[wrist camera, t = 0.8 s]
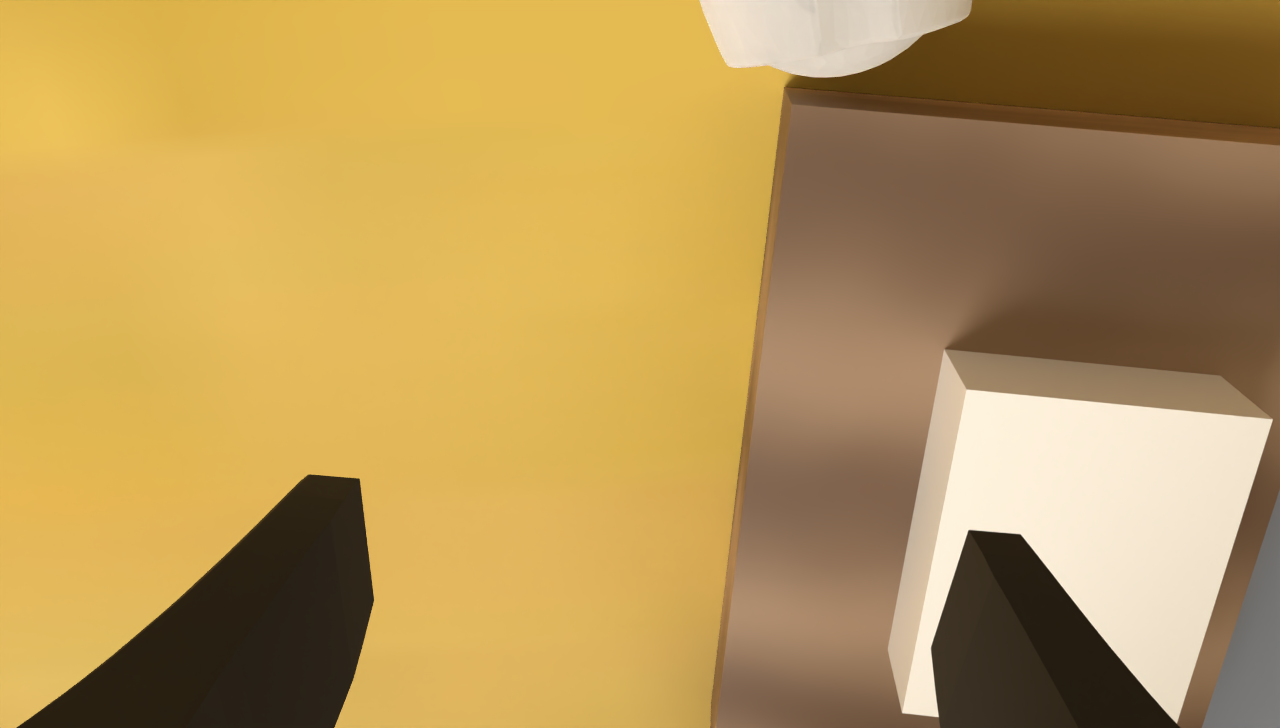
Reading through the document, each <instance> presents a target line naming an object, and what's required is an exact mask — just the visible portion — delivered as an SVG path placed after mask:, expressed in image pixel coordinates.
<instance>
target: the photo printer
mask: <svg viewBox="0 0 1280 728" xmlns="http://www.w3.org/2000/svg"><path fill="white" fill-rule="evenodd" d="M700 3H701V6H702V9H703V12H704V15H705V17H706V20H707V22H708V25H709V27H710V30H711V32H712V34H713V37H714V39H715V42H716V44H717V46H718V48H719V51H720V53H721V55H722V57H723V59H724V60H725V62H726V64H727V65H728V66H730V67H735V68H743V67H757V66H765V65H769V66H771V67H774V68H777V69H779V70H782V71H785V72H788V73H791V74H795V75H801V76H808V77H824V78H826V77H841V76H846V75H851V74H855V73H860V72H863V71H866V70H868V69H871V68H874V67H877V66H879V65H881V64H883V63H885V62H887V61H889V60H891V59H892V58H894V57H895V56H897V55H898V54H900V53H901V52H903V51H904V50H906V49H907V48H909V47H910V46H911V45H912V44H913V43H914V42H915V41H917V40H918V39H919V38H920V37H921V36H922V35H923V34H926V33H929V32H932V31H936V30H938V29H941V28H944V27H947V26H949V25H952V24H955V23H958V22H960V21H962V20H963V19H965V18H966V17H968V16H969V14H970V11H971V6H972V0H700Z"/></svg>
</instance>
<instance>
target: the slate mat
mask: <svg viewBox="0 0 1280 728" xmlns="http://www.w3.org/2000/svg"><path fill="white" fill-rule="evenodd" d="M1202 728H1280V490H1279V493H1278V496H1277V499H1276V503H1275V506H1274V509H1273V512H1272V515H1271V518H1270V521H1269V524H1268V527H1267V530H1266V533H1265V536H1264V539H1263V542H1262V545H1261V548H1260V551H1259V554H1258V558H1257V561H1256V564H1255V567H1254V570H1253V573H1252V576H1251V579H1250V582H1249V585H1248V588H1247V591H1246V594H1245V597H1244V600H1243V603H1242V606H1241V609H1240V613H1239V616H1238V619H1237V622H1236V625H1235V628H1234V631H1233V634H1232V637H1231V640H1230V643H1229V646H1228V649H1227V652H1226V655H1225V658H1224V661H1223V665H1222V668H1221V671H1220V674H1219V677H1218V680H1217V683H1216V686H1215V689H1214V692H1213V695H1212V698H1211V701H1210V704H1209V707H1208V710H1207V713H1206V716H1205V720H1204V723H1203V726H1202Z"/></svg>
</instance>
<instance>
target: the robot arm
mask: <svg viewBox="0 0 1280 728" xmlns="http://www.w3.org/2000/svg"><path fill="white" fill-rule="evenodd" d="M373 602H374V596H373V588H372V579H371V571H370V563H369V554H368V546H367V537H366V529H365V521H364V512H363V504H362V495H361V487H360V479H356V478H344V477H333V476H321V475H308V476H306V477H305V478H304V479H302V480H301V481H300V482H299V483H298V484H297V485H296V486H295V487H294V488H293V489H292V490H291V491H290V492H289V493H288V494H287V495H286V496H285V497H284V498H283V499H282V500H281V501H280V502H279V503H278V504H277V505H276V506H275V507H274V508H273V509H272V510H271V511H270V512H269V513H268V514H267V515H266V516H265V517H264V518H263V519H262V520H261V521H260V522H259V523H258V524H257V525H256V526H255V527H254V528H253V529H252V530H251V531H250V532H249V533H248V534H247V535H246V536H245V537H244V538H243V539H242V540H241V541H240V542H239V543H238V544H237V545H235V546H234V547H233V548H232V549H231V550H230V551H229V552H228V553H227V554H226V555H225V556H224V557H223V558H222V559H221V560H220V561H219V562H218V563H217V564H216V565H214V566H213V567H212V568H211V569H210V570H209V571H208V572H207V573H206V574H205V575H204V576H203V577H202V578H201V579H199V580H198V581H197V582H196V583H195V584H194V585H193V586H192V587H191V588H190V589H189V590H188V591H187V592H186V593H184V594H183V595H182V596H181V597H180V598H179V599H178V600H177V601H176V602H175V603H173V604H172V605H171V606H170V607H169V608H168V609H167V610H165V611H164V612H163V613H162V614H161V615H160V616H158V617H157V618H156V619H155V620H154V621H153V622H151V623H150V624H149V625H148V626H147V627H145V628H144V629H143V630H142V631H141V632H140V633H138V634H137V635H136V636H135V637H134V638H133V639H131V640H130V641H129V642H128V643H127V644H125V645H124V646H123V647H122V648H121V649H120V650H118V651H117V652H116V653H115V654H114V655H112V656H111V657H110V658H109V659H108V660H106V661H105V662H104V663H103V664H101V665H100V666H99V667H97V668H96V669H95V670H94V671H92V672H91V673H90V674H89V675H87V676H86V677H85V678H83V679H82V680H81V681H80V682H78V683H77V684H76V685H74V686H73V687H72V688H70V689H69V690H68V691H66V692H65V693H64V694H62V695H61V696H60V697H58V698H57V699H56V700H54V701H53V702H51V703H50V704H49V705H47V706H46V707H45V708H43V709H42V710H41V711H39V712H38V713H36V714H35V715H34V716H32V717H31V718H30V719H28V720H27V721H25V722H24V723H23V724H21V725H20V726H18V727H17V728H334V727H335V724H336V722H337V719H338V717H339V714H340V712H341V709H342V707H343V704H344V702H345V699H346V697H347V694H348V691H349V689H350V686H351V684H352V681H353V678H354V675H355V671H356V667H357V664H358V660H359V656H360V653H361V649H362V645H363V642H364V638H365V634H366V630H367V626H368V622H369V618H370V614H371V610H372V606H373ZM931 655H932V664H933V674H934V683H935V692H936V700H937V707H938V715H939V723H940V728H1180V727H1179V726H1178V725H1177V723H1176V722H1175V721H1174V720H1173V719H1172V718H1171V717H1170V716H1169V715H1168V714H1167V713H1166V712H1165V710H1164V709H1163V708H1162V707H1161V706H1160V705H1159V704H1158V703H1157V701H1156V700H1155V699H1154V698H1153V697H1152V696H1151V695H1150V693H1149V692H1148V691H1147V690H1146V689H1145V688H1144V686H1143V685H1142V684H1141V683H1140V682H1139V681H1138V679H1137V678H1136V677H1135V676H1134V675H1133V673H1132V672H1131V671H1130V670H1129V669H1128V668H1127V666H1126V665H1125V664H1124V663H1123V662H1122V660H1121V659H1120V658H1119V657H1118V656H1117V654H1116V653H1115V652H1114V651H1113V650H1112V649H1111V647H1110V646H1109V645H1108V644H1107V642H1106V641H1105V640H1104V639H1103V637H1102V636H1101V635H1100V634H1099V633H1098V631H1097V630H1096V629H1095V628H1094V626H1093V625H1092V624H1091V623H1090V621H1089V620H1088V619H1087V618H1086V616H1085V615H1084V614H1083V613H1082V611H1081V610H1080V609H1079V607H1078V606H1077V605H1076V604H1075V602H1074V601H1073V600H1072V599H1071V597H1070V596H1069V595H1068V594H1067V592H1066V591H1065V590H1064V588H1063V587H1062V586H1061V585H1060V583H1059V582H1058V581H1057V579H1056V578H1055V577H1054V576H1053V574H1052V573H1051V572H1050V571H1049V569H1048V568H1047V567H1046V565H1045V564H1044V563H1043V562H1042V560H1041V559H1040V558H1039V557H1038V555H1037V554H1036V553H1035V552H1034V550H1033V549H1032V548H1031V546H1030V545H1029V544H1028V543H1027V541H1026V540H1025V539H1024V538H1023V536H1022V535H1021V534H1012V533H1000V532H989V531H977V530H968V533H967V536H966V539H965V542H964V546H963V549H962V552H961V555H960V558H959V561H958V564H957V567H956V571H955V574H954V577H953V580H952V583H951V586H950V589H949V592H948V596H947V599H946V602H945V605H944V608H943V611H942V614H941V617H940V620H939V624H938V627H937V630H936V633H935V636H934V639H933V642H932V645H931Z"/></svg>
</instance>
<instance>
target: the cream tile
mask: <svg viewBox="0 0 1280 728" xmlns="http://www.w3.org/2000/svg"><path fill="white" fill-rule="evenodd" d="M1272 421H1273V419H1272V418H1271V417H1269V416H1268V415H1267V414H1266V413H1265V412H1263V411H1262V410H1261V409H1260V408H1259V407H1257V406H1256V405H1255V404H1254V403H1253V402H1251V401H1250V400H1249V399H1248V398H1247V397H1245V396H1244V395H1243V394H1242V393H1241V392H1239V391H1238V390H1237V389H1236V388H1235V387H1233V386H1232V385H1231V384H1230V383H1229V382H1227V381H1226V380H1225V379H1224V378H1223V377H1221V376H1219V375H1209V374H1198V373H1188V372H1177V371H1167V370H1156V369H1146V368H1135V367H1125V366H1115V365H1104V364H1094V363H1083V362H1073V361H1062V360H1052V359H1041V358H1031V357H1021V356H1010V355H1000V354H989V353H979V352H968V351H958V350H947V349H944V352H943V358H942V363H941V368H940V374H939V379H938V384H937V390H936V395H935V400H934V406H933V411H932V416H931V422H930V427H929V432H928V437H927V443H926V448H925V453H924V459H923V464H922V469H921V475H920V480H919V485H918V491H917V496H916V501H915V507H914V512H913V517H912V523H911V528H910V533H909V539H908V544H907V549H906V554H905V560H904V565H903V570H902V576H901V581H900V586H899V592H898V597H897V602H896V608H895V613H894V618H893V624H892V629H891V634H890V640H889V645H888V653H889V658H890V662H891V666H892V671H893V675H894V680H895V684H896V688H897V693H898V697H899V702H900V706H901V711H902V713H906V714H915V715H923V716H932V717H939V715H938V707H937V700H936V692H935V683H934V674H933V664H932V655H931V645H932V642H933V639H934V636H935V633H936V630H937V627H938V624H939V620H940V617H941V614H942V611H943V608H944V605H945V602H946V599H947V596H948V592H949V589H950V586H951V583H952V580H953V577H954V574H955V571H956V567H957V564H958V561H959V558H960V555H961V552H962V549H963V546H964V542H965V539H966V536H967V533H968V530H977V531H989V532H1000V533H1012V534H1021V535H1022V536H1023V538H1024V539H1025V540H1026V541H1027V543H1028V544H1029V545H1030V546H1031V548H1032V549H1033V550H1034V552H1035V553H1036V554H1037V555H1038V557H1039V558H1040V559H1041V560H1042V562H1043V563H1044V564H1045V565H1046V567H1047V568H1048V569H1049V571H1050V572H1051V573H1052V574H1053V576H1054V577H1055V578H1056V579H1057V581H1058V582H1059V583H1060V585H1061V586H1062V587H1063V588H1064V590H1065V591H1066V592H1067V594H1068V595H1069V596H1070V597H1071V599H1072V600H1073V601H1074V602H1075V604H1076V605H1077V606H1078V607H1079V609H1080V610H1081V611H1082V613H1083V614H1084V615H1085V616H1086V618H1087V619H1088V620H1089V621H1090V623H1091V624H1092V625H1093V626H1094V628H1095V629H1096V630H1097V631H1098V633H1099V634H1100V635H1101V636H1102V637H1103V639H1104V640H1105V641H1106V642H1107V644H1108V645H1109V646H1110V647H1111V649H1112V650H1113V651H1114V652H1115V653H1116V654H1117V656H1118V657H1119V658H1120V659H1121V660H1122V662H1123V663H1124V664H1125V665H1126V666H1127V668H1128V669H1129V670H1130V671H1131V672H1132V673H1133V675H1134V676H1135V677H1136V678H1137V679H1138V681H1139V682H1140V683H1141V684H1142V685H1143V686H1144V688H1145V689H1146V690H1147V691H1148V692H1149V693H1150V695H1151V696H1152V697H1153V698H1154V699H1155V700H1156V701H1157V703H1158V704H1159V705H1160V706H1161V707H1162V708H1163V709H1164V710H1165V712H1166V713H1167V714H1168V715H1169V716H1170V717H1171V718H1172V719H1173V720H1174V721H1175V722H1176V723H1177V722H1178V718H1179V715H1180V712H1181V709H1182V706H1183V703H1184V699H1185V696H1186V693H1187V690H1188V687H1189V684H1190V680H1191V677H1192V674H1193V671H1194V668H1195V665H1196V661H1197V658H1198V655H1199V652H1200V649H1201V646H1202V642H1203V639H1204V636H1205V633H1206V630H1207V627H1208V623H1209V620H1210V617H1211V614H1212V611H1213V608H1214V604H1215V601H1216V598H1217V595H1218V592H1219V589H1220V585H1221V582H1222V579H1223V576H1224V573H1225V570H1226V566H1227V563H1228V560H1229V557H1230V554H1231V551H1232V547H1233V544H1234V541H1235V538H1236V535H1237V532H1238V528H1239V525H1240V522H1241V519H1242V516H1243V513H1244V509H1245V506H1246V503H1247V500H1248V497H1249V494H1250V491H1251V487H1252V484H1253V481H1254V478H1255V475H1256V472H1257V468H1258V465H1259V462H1260V459H1261V456H1262V453H1263V449H1264V446H1265V443H1266V440H1267V437H1268V434H1269V430H1270V427H1271V424H1272Z"/></svg>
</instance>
